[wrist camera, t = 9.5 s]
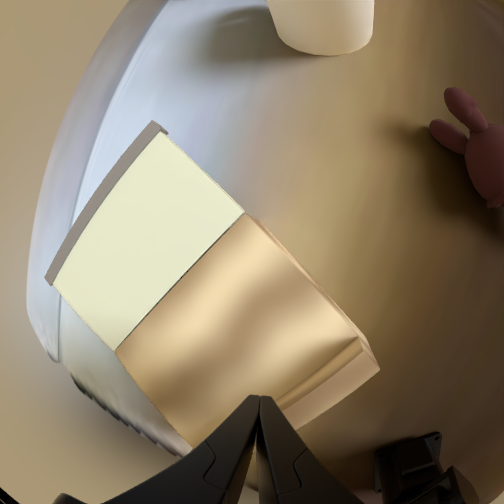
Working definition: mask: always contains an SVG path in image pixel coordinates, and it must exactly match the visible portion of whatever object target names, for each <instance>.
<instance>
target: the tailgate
mask: <svg viewBox="0 0 504 504" xmlns="http://www.w3.org/2000/svg"><path fill="white" fill-rule="evenodd" d="M167 134H168V132H167V131H166V130H165V129H164V128H163V127H162V126H160V125H159V124H157V123H156V122H154V121H153V120H152V121H151V122H150V123H149V124H148V125H147V126H146V128H145V129H144V130H143V131H142V132H141V133H140V134H139V136H138V137H137V138H136V139H135V140H134V141H133V143H132V144H131V145H130V146H129V147H128V149H127V150H126V151H125V152H124V154H123V155H122V156H121V157H120V159H119V160H118V161H117V163H116V164H115V165H114V166H113V168H112V169H111V170H110V172H109V173H108V174H107V176H106V177H105V178H104V180H103V181H102V183H101V184H100V185H99V187H98V188H97V190H96V191H95V192H94V194H93V195H92V197H91V198H90V200H89V201H88V203H87V204H86V206H85V207H84V209H83V210H82V212H81V213H80V215H79V217H78V218H77V220H76V221H75V223H74V225H73V226H72V228H71V230H70V231H69V233H68V235H67V236H66V238H65V240H64V242H63V243H62V245H61V247H60V249H59V250H58V252H57V254H56V256H55V258H54V260H53V262H52V264H51V265H50V267H49V269H48V271H47V273H46V275H45V277H44V278H45V279H46V281H47V282H48V283H49V285H50V286H52V285H54V286H55V288H56V289H57V290H58V291H59V293H60V294H61V295H62V296H63V297H64V299H65V300H66V301H67V302H68V303H69V305H70V306H71V307H72V308H73V309H74V310H75V312H76V313H77V314H78V315H79V316H80V317H81V318H82V319H83V320H84V322H85V323H86V324H87V325H88V326H89V327H90V328H91V329H92V330H93V331H94V332H95V333H96V334H97V335H98V336H99V337H100V338H101V339H102V340H103V341H104V342H105V343H106V344H107V345H108V346H109V347H110V348H111V349H112V350H113V351H114V350H115V349H116V348H117V347H118V346H119V345H120V344H121V343H122V342H123V340H125V339H126V338H127V337H128V336H129V334H130V333H131V332H132V331H133V330H134V329H135V328H136V327H137V325H138V324H139V323H140V322H141V321H142V320H143V319H144V317H145V316H146V315H147V314H148V313H149V311H150V310H151V309H152V308H153V307H154V306H155V305H156V304H157V303H158V302H159V301H160V299H161V298H162V297H163V296H164V295H165V294H166V293H167V292H168V291H169V290H170V289H171V288H172V286H173V285H174V284H175V283H176V282H177V281H178V280H179V279H180V278H181V277H182V276H183V275H184V274H185V273H186V272H187V271H188V269H189V268H190V267H191V266H192V265H193V264H194V263H195V262H196V261H197V260H198V259H200V258H201V257H202V256H203V255H204V254H205V253H206V251H207V250H208V249H209V248H210V247H211V246H212V245H213V244H214V243H215V242H216V241H217V240H218V239H219V238H220V237H221V236H222V235H223V234H224V233H225V232H226V231H227V230H228V229H229V227H230V226H231V225H232V224H233V223H234V222H235V221H236V220H237V219H238V218H239V217H240V216H241V215H242V214H243V213H244V212H245V210H244V209H243V208H242V207H241V206H240V205H239V204H238V203H237V202H236V201H235V200H234V199H233V198H232V197H230V196H229V195H228V194H227V193H226V192H225V191H224V190H223V189H222V188H221V187H220V186H219V185H218V184H217V183H216V182H215V181H214V180H213V179H212V178H211V177H210V176H209V175H208V174H207V173H206V172H205V171H204V170H203V169H202V168H201V167H200V166H199V165H197V164H196V163H195V162H194V161H193V160H192V159H191V158H190V157H189V156H188V155H187V154H186V153H185V152H184V151H183V150H182V149H181V148H180V147H179V146H178V145H176V144H175V143H174V142H173V141H172V140H171V139H170V138H169V137H168V136H167Z"/></svg>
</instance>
